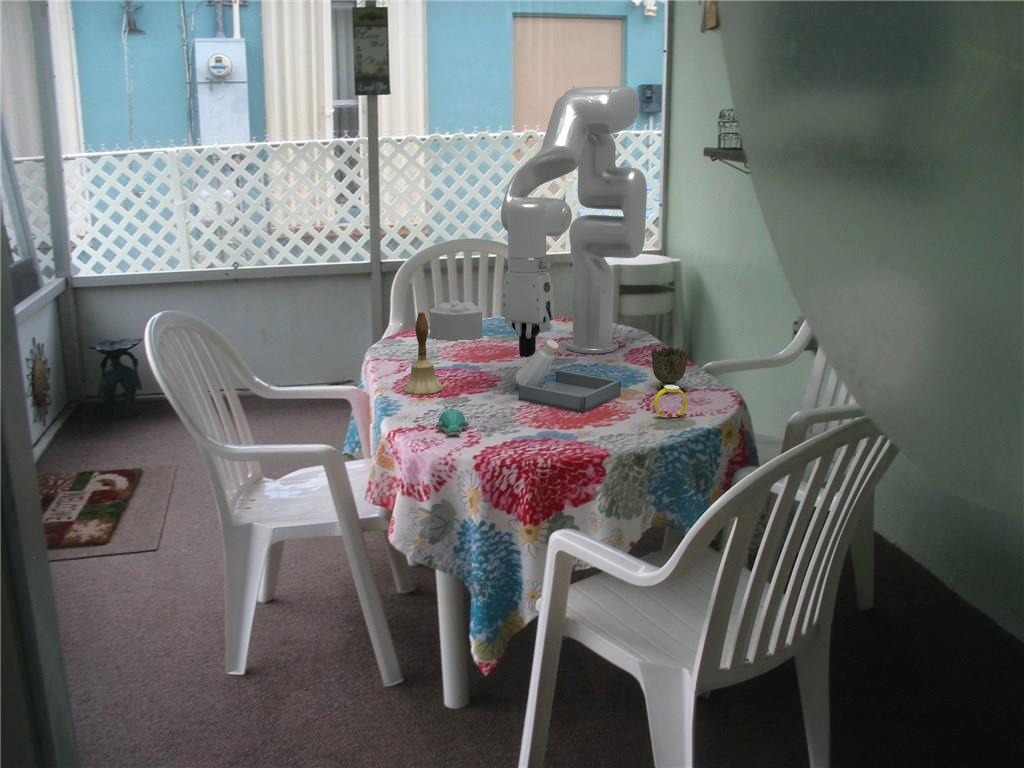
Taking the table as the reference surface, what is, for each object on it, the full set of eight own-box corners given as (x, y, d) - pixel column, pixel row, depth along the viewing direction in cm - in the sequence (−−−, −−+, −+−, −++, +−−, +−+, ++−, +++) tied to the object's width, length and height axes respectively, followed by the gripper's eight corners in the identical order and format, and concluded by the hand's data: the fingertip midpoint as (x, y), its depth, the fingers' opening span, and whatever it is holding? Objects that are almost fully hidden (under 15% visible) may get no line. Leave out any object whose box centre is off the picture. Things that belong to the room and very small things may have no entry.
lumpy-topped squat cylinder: (484, 340, 234) (483, 306, 232) (432, 342, 232) (431, 308, 230) (478, 331, 244) (477, 298, 242) (428, 333, 242) (427, 300, 240)
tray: (557, 383, 195) (557, 369, 194) (620, 395, 187) (620, 380, 186) (518, 399, 184) (518, 385, 183) (583, 412, 176) (583, 397, 175)
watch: (682, 415, 175) (686, 385, 173) (687, 420, 172) (690, 389, 170) (651, 414, 174) (654, 384, 172) (655, 419, 171) (658, 388, 170)
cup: (664, 395, 186) (665, 356, 184) (642, 386, 193) (644, 348, 191) (694, 390, 190) (696, 351, 188) (672, 381, 196) (673, 344, 194)
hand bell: (406, 383, 196) (403, 309, 192) (445, 383, 196) (443, 308, 192) (400, 395, 188) (397, 317, 184) (441, 395, 188) (439, 317, 184)
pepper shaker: (534, 395, 189) (561, 356, 183) (511, 381, 189) (538, 341, 183) (540, 383, 193) (567, 344, 188) (518, 369, 193) (544, 330, 187)
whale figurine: (468, 425, 170) (467, 405, 169) (470, 438, 163) (469, 417, 162) (435, 426, 169) (435, 406, 168) (436, 439, 162) (436, 418, 161)
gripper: (569, 266, 183) (568, 357, 188) (508, 260, 192) (508, 347, 197) (547, 271, 177) (547, 364, 182) (485, 264, 186) (486, 354, 191)
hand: (527, 355), depth 189 cm, fingers closed
